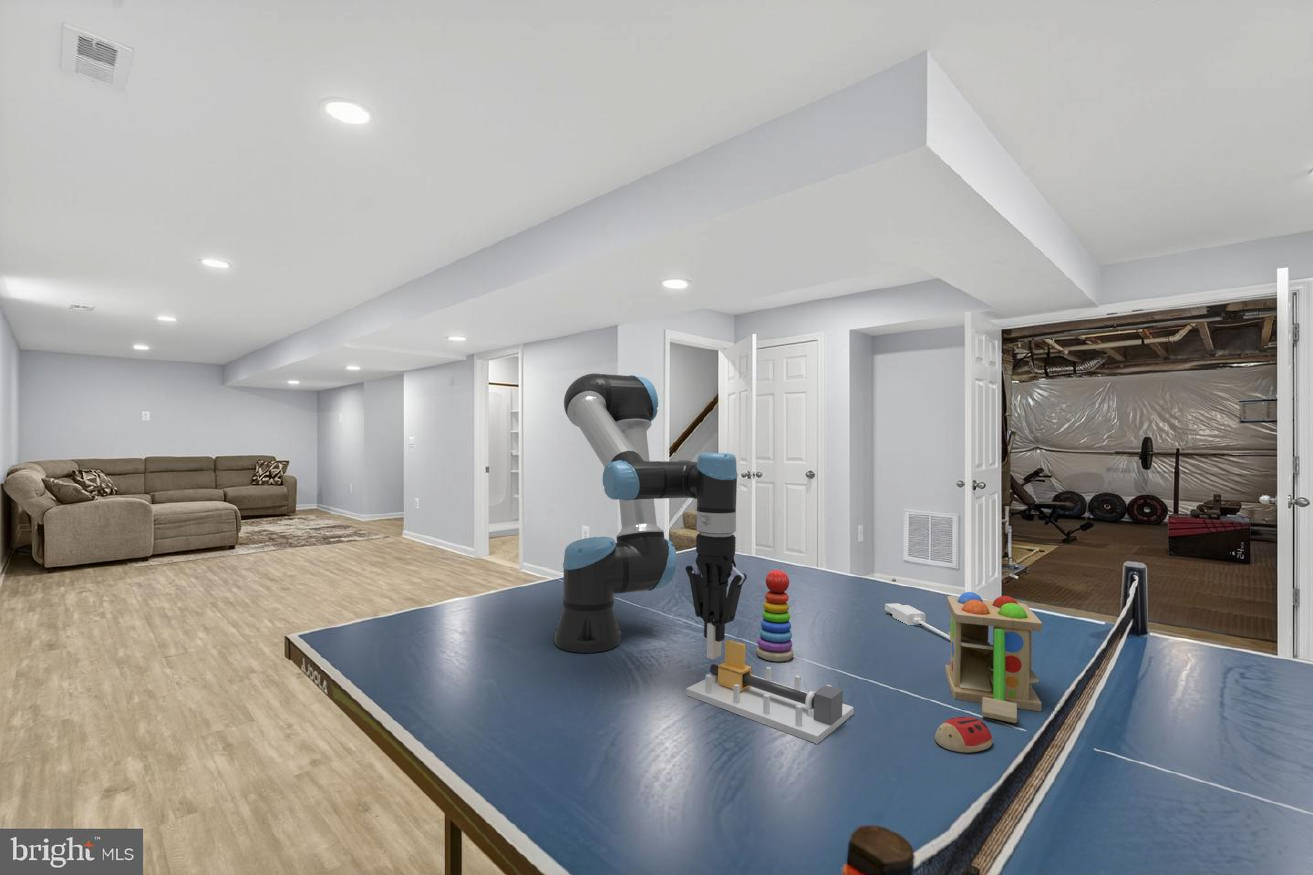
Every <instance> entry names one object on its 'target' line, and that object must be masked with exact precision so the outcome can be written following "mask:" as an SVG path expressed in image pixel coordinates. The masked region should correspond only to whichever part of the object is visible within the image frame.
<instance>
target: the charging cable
mask: <svg viewBox="0 0 1313 875" xmlns="http://www.w3.org/2000/svg"><path fill="white" fill-rule="evenodd" d="M884 610H885V611H886V612H888V613H890V614H892V618H893V619H895V620H896V619H897V620H896V621H898V620H899V621H898V622H900V621H901V622H900V623H902V622H903V623H902V624H904V623H905V624H904V625H906V624H907V625H906V626H908V625H916V624H922V625H921V626H923V627H926V628H927V629H930V630H931V631H933V632H934V633H936V634H938V635H941V636H942V637H944V638H946V639H947V640H950V638H949V634H948V633H945V632H943V631H942V630H939V629H937V628H936V627H934V626H932V625H930V624H928V623H927V622H926V616H927V615H926V613H925V612H923V611H922V610H919V609H917V608H915V607H913V606H912V605H909V604H904V605H903V604H901V603H895V602H894V603H884ZM916 626H917V625H916Z"/></svg>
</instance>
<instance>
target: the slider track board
mask: <svg viewBox="0 0 1313 875" xmlns="http://www.w3.org/2000/svg"><path fill="white" fill-rule="evenodd" d="M718 665H719V664H716V663H712V664H711V666H710V667H709V672H708V673H706V674H705V678H704V679H702V680H700V681H698V682H696V683H694V684H692V685H690V686H688V687H686V688H685V696H688V697H690V698H693V699H696V700H698V701H701V702H703V703H706V704H709V705H712V706H714V707H717V708H720V709H722V710H725V711H727V712H730V713H733V714H736V715H739V716H741V717H744V718H747V719H749V720H752V721H755V722H757V723H760V724H762V725H765V726H768V727H771V728H773V729H776V730H779V731H782V732H783V733H786V734H790V735H792V736H794V737H798V738H800V739H802V740H805V741H808V742H811V743H814V744H817V745H818V744H819V743H821V741H823V740H824V739H826V737H827V736H829V735H830V734H831V733H833V732H834V731H835V730H836V729H838V727H840V726H841V725H842V724H843V723H844V722H846V721H848V719H849V718H851V717H852V716H853V715H854V710H855V709H854V708H855V707H854V706H851V705H849V704H847V703H846V704H845V703H843V702H844V701H843V694H844V693H843V692H844V691H843V689H839V688H837V687H833V686H832V685H830V684H826V685H824V686H822V687H821V688H819V690H817V691H812V690H809V691H808V692H807V691H803V690H801V686H802V685H801V682H802V680H801V679H802V678H801V675H797V674H796V675H795V676H794V683H793V684H794V686H793V687H791V686H788V685H785V684H782V683H779V682H776V681H773V680H772V678H773V677H772V675H773V673H772V669H773V668H772V667H770V666H767V667H765V678H763V677H760V676H757V675H755V674H751V675H748V674H745V673H744V674H743V676H742V684H745V685H748V686H750V687H748V688H746V689H744V690H743V691H741V692H740V685H738V684H735V685H734V688H733V689H732V688H729V687H726V686H723V685H720V684H718ZM850 716H851V717H850Z"/></svg>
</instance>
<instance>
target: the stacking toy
mask: <svg viewBox="0 0 1313 875" xmlns="http://www.w3.org/2000/svg"><path fill="white" fill-rule="evenodd" d="M765 585H766V588H767V589H768V590H769V591H767V592H765V596H764V598H765V600H766V601H764V602H763V604H762V606H763V609H764V610H763V611H762V619H761V621H760V627H761V628H760V629H759V637H758V638H757V641H756V642H757V646H756V648H755V649H756V650H755V651H756V654H757V655H758V657H760V658H762V659H764V660H766V661H770V662H786V661H789V660H791V659H793V657H794V655H795V654H794V650H793V641H792V640H791V639H792V638H793V633H792V631H791V629H792V624H791V621H790V619H791V614H790V612H789V609H790V605H789V604H788V603H787V602H788V601H789V594H788V593H787V592H786V591H787V590H788V589H789V586H790V579H789V576H788V575H787V574H786V573H785V571H783V570H779V569H775V570H774V569H773V570H771V571H770V572H769V573H767V575H766V577H765Z"/></svg>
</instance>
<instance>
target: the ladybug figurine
mask: <svg viewBox="0 0 1313 875" xmlns="http://www.w3.org/2000/svg"><path fill="white" fill-rule="evenodd" d="M934 736H935V737H934V739H935V741H936V743H937V744H938V745H939V746H940V747H942V748H944V749H945V750H949V751H952V752H956V753H976V752H982V751H985V750H987V749H989V748H990V747H991V746H992V745H993V743H994V740H993V735H992V733H991V731H990V729H989V727H988V726H987V725H986V724H985V723H984V721H982V720H981V719H979V718H976V717H972V716H957V717H952V718H949V719H947V720H945V721H944V722H942V723H941V724H940V725H938V728H937V729H936V732H935V735H934Z"/></svg>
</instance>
